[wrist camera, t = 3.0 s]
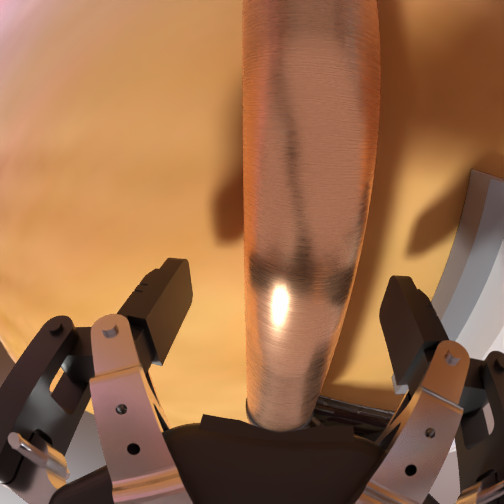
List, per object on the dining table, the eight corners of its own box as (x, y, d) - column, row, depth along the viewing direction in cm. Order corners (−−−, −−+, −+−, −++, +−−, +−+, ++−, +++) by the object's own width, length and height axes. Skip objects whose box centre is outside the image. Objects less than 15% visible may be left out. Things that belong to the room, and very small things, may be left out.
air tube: (238, -7, 6) (241, -64, 3) (348, 5, 7) (401, -32, 3) (245, 392, 17) (247, 445, 14) (304, 388, 17) (315, 439, 14)
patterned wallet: (249, 412, 21) (306, 508, 16) (289, 404, 16) (357, 520, 11) (324, 370, 26) (370, 455, 21) (371, 349, 21) (421, 448, 16)
